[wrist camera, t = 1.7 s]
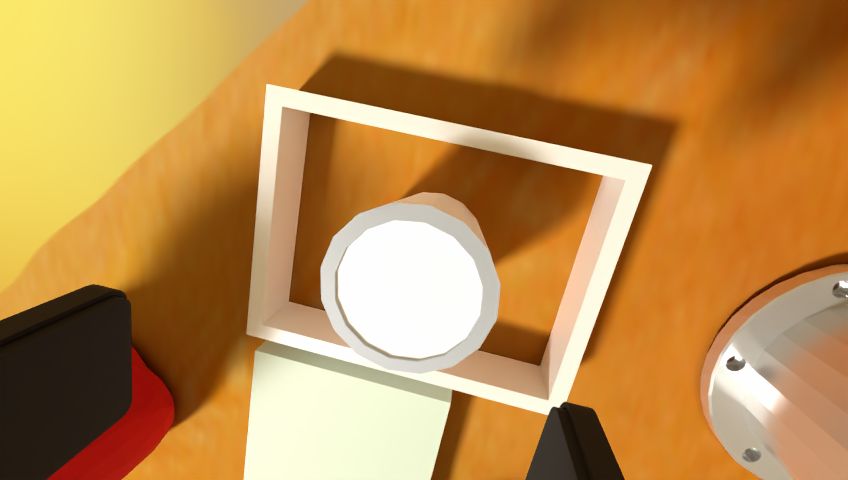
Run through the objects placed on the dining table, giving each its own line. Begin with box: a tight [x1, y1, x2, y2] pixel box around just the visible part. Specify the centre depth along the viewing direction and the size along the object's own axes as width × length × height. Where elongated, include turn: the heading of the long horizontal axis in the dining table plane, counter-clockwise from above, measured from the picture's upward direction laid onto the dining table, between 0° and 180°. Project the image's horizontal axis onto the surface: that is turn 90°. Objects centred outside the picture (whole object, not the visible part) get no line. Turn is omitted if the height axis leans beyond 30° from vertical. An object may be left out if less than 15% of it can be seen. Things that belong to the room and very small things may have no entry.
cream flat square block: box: [244, 340, 452, 480], centre depth 24 cm, size 11×11×2 cm
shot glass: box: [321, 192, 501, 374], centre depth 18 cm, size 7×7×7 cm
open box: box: [246, 84, 652, 415], centre depth 20 cm, size 17×13×3 cm
